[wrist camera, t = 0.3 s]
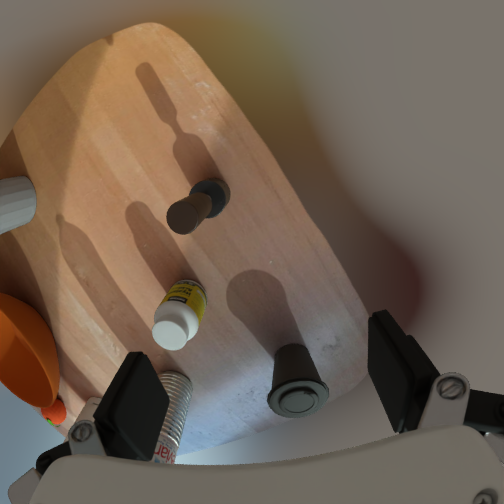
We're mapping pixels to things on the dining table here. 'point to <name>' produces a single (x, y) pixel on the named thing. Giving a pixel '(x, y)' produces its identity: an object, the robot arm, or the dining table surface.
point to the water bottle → (173, 416)
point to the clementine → (55, 412)
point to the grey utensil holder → (16, 202)
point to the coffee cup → (296, 384)
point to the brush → (198, 205)
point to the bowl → (27, 353)
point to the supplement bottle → (179, 314)
